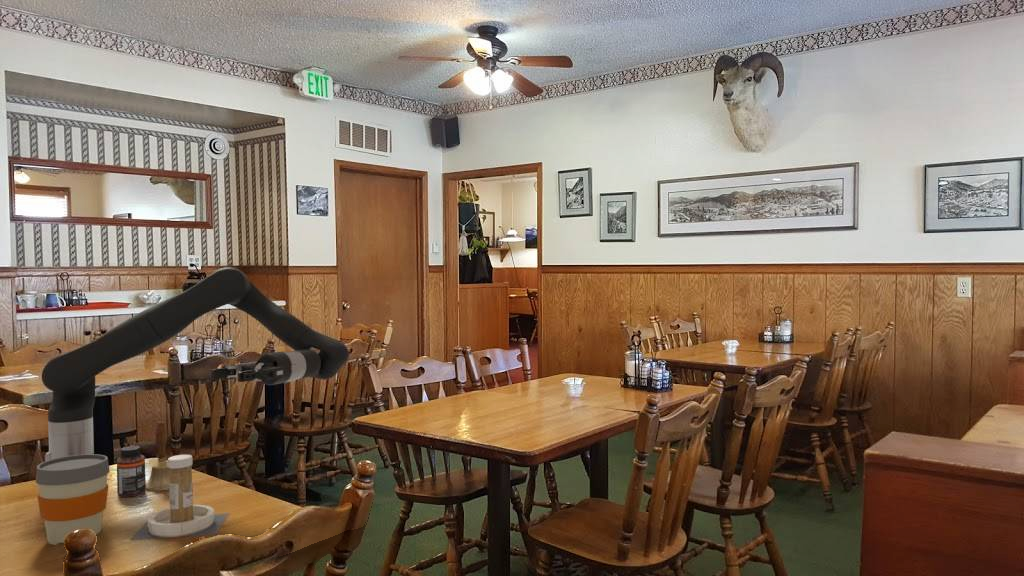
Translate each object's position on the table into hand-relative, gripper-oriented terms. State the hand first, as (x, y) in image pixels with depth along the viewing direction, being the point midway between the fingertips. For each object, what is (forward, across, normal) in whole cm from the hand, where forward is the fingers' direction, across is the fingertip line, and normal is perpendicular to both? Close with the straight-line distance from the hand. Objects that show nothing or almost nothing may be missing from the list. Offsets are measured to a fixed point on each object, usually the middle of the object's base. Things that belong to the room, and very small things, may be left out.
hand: (225, 375), depth 154 cm
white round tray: (+12, +2, +29) cm, 32 cm away
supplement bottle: (+3, -29, +30) cm, 42 cm away
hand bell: (-4, -29, +30) cm, 42 cm away
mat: (+12, +2, +30) cm, 32 cm away
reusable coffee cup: (+25, -14, +30) cm, 42 cm away
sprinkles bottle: (+12, +1, +28) cm, 31 cm away
